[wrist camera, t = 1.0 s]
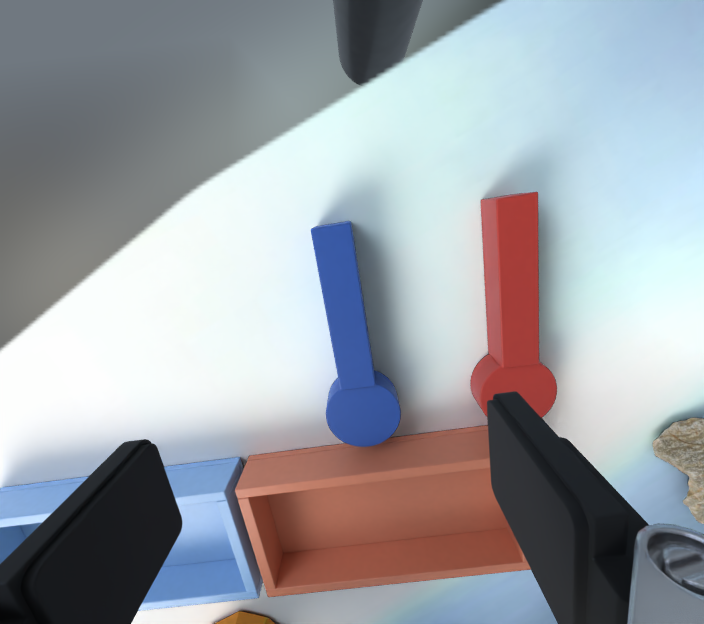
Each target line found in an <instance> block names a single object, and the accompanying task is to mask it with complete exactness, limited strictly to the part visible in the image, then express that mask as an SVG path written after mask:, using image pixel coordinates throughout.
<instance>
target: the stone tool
mask: <svg viewBox="0 0 704 624" xmlns="http://www.w3.org/2000/svg"><path fill="white" fill-rule="evenodd" d="M653 450H654V453H655V455H656V457H658V458H660V459H662V460H664V461H666V462H668V463H670V464H671V465H673V466H674V467H677V469H678V470H680V471H682V472H683V473H685V474H687V475H688V476H689V481H688V485H689V491H688V493H687V497H686V498H685V499H684V500H683V503H684V504H685V505H687V506H688V507H689V508H690V511H691V513H692V514H693V515H694V517H695V519H696V520H697V521H698V522H700V523H702V524H704V419H701V418H690V419H687V420H684V421H677V422H674V423H673V424H672V425H671V426H670V427H669V428H668V429H666V430H664V432H663V433H662V434H661V435H660V436H659V437H658V438H657V439H655V440H654V441H653Z"/></svg>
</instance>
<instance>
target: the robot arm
mask: <svg viewBox="0 0 704 624" xmlns="http://www.w3.org/2000/svg"><path fill="white" fill-rule="evenodd" d="M487 417H488V435H489V454H490V473H491V485H492V489H493V493H494V495H495V498H496V500H497V502H498V504H499V506H500V508H501V510H502V512H503V514H504V516H505V518H506V520H507V522H508V524H509V526H510V528H511V530H512V532H513V534H514V536H515V538H516V540H517V542H518V544H519V546H520V548H521V550H522V552H523V554H524V556H525V558H526V560H527V562H528V564H529V566H530V568H531V570H532V572H533V574H534V576H535V578H536V580H537V582H538V584H539V586H540V588H541V590H542V592H543V594H544V596H545V598H546V600H547V602H548V604H549V606H550V608H551V610H552V612H553V614H554V616H555V618H556V621H557V623H558V624H704V534H701V533H699V532H697V531H694V530H692V529H688V528H685V527H681V526H677V525H671V524H654V525H648V523H647V522H646V521H645V520H644V519H643V518H642V517H641V516H640V515H639V514H638V513H637V512H636V511H635V510H634V509H633V508H632V507H631V506H630V504H629V503H628V502H627V501H626V500H625V499H624V498H623V497H622V496H621V495H620V494H619V493H618V492H617V491H616V490H615V489H614V488H613V487H612V485H611V484H610V483H609V482H608V481H607V480H606V479H605V478H604V477H603V476H602V475H601V474H600V473H599V472H598V471H597V470H596V469H595V468H594V466H593V465H592V464H591V463H590V462H589V461H588V460H587V459H586V458H585V457H584V456H583V455H582V454H581V453H580V452H579V451H578V450H577V449H576V447H575V446H574V445H573V444H572V443H571V442H570V441H568V440H567V439H565V438H562V437H561V438H559V437H558V436H557V435H556V433H555V432H554V431H553V430H552V429H551V428H550V427H549V426H548V425H547V424H546V423H545V421H544V420H543V419H542V418H541V417H540V416H539V415H538V414H537V413H536V412H535V411H534V409H533V408H532V407H531V406H530V405H529V404H528V403H527V402H526V401H525V400H524V399H523V397H522V396H521V395H520V394H519V393H518V392H516V391H513V392H506V393H498V394H494V396H493V400H488V401H487ZM181 529H182V517H181V514H180V511H179V508H178V505H177V503H176V500H175V497H174V494H173V491H172V488H171V486H170V483H169V480H168V477H167V474H166V471H165V468H164V466H163V463H162V460H161V457H160V454H159V451H158V449H157V447H156V445H155V444H152V443H151V442H150V441H149V440H146V439H144V440H137V441H129V442H124V443H123V444H122V445H120V446H119V447H118V448H117V449H116V450H115V451H114V452H113V453H112V454H111V455H110V456H109V457H108V458H107V459H106V460H105V461H104V462H103V463H102V464H101V465H100V466H99V467H98V468H97V469H96V470H95V471H94V472H93V473H92V474H91V475H90V476H89V477H88V478H87V479H86V480H85V481H84V482H83V483H82V484H81V485H80V486H79V487H78V488H77V489H76V490H75V491H74V492H73V493H72V494H71V495H70V496H69V497H68V498H67V499H66V500H65V501H64V502H63V503H62V504H61V505H60V506H59V507H58V508H57V509H56V510H55V511H54V512H53V513H52V514H51V515H50V516H49V517H48V518H47V519H45V520H44V521H43V522H42V523H41V524H40V525H39V526H38V527H37V528H36V529H35V530H34V531H33V532H32V533H31V534H30V535H29V536H28V537H27V538H26V539H25V540H24V541H23V542H22V543H21V544H20V545H19V546H18V547H17V548H16V549H15V550H14V551H13V552H12V553H11V554H10V555H9V556H8V557H7V558H6V559H5V560H4V561H3V562H2V563H1V564H0V624H131V622H132V621H133V619H134V617H135V615H136V613H137V611H138V610H139V608H140V606H141V604H142V602H143V600H144V599H145V597H146V595H147V593H148V591H149V589H150V588H151V586H152V584H153V582H154V580H155V579H156V577H157V575H158V573H159V571H160V569H161V568H162V566H163V564H164V562H165V560H166V558H167V557H168V555H169V553H170V551H171V549H172V547H173V546H174V544H175V542H176V540H177V538H178V536H179V535H180V532H181Z"/></svg>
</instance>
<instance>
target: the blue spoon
mask: <svg viewBox="0 0 704 624" xmlns="http://www.w3.org/2000/svg"><path fill="white" fill-rule="evenodd" d="M311 234H312V240H313V245H314V250H315V256H316V261H317V266H318V272H319V277H320V282H321V288H322V293H323V299H324V304H325V309H326V315H327V320H328V325H329V331H330V336H331V341H332V347H333V352H334V357H335V363H336V368H337V373H338V378H337V379H336V380H335V381H334V383H333V384H332V386H331V388H330V391H329V395H328V402H327V408H326V419H327V423H328V426H329V428H330V430H331V431H332V432H333V434H334V435H335V436H336V437H337V438H338V439H340V440H341V441H343V442H345V443H347V444H349V445H353V446H358V447H369V446H374V445H377V444H380V443H382V442H384V441H385V440H387V439H388V438H389V437H390V436H391V435H392V434H393V433H394V432H395V430H396V429H397V427H398V425H399V422H400V416H401V411H400V406H399V401H398V397H397V392H396V389H395V387H394V385H393V383H392V382H391V381H390V380H389V379H388V378H387V377H386V376H385V375H383V374H382V373H380V372H378V371H375V370H374V367H373V360H372V354H371V347H370V341H369V334H368V328H367V321H366V315H365V308H364V301H363V295H362V288H361V282H360V275H359V269H358V262H357V256H356V249H355V243H354V236H353V230H352V223H351V221H346V222H340V223H334V224H328V225H322V226H316V227H314V228H312V229H311Z"/></svg>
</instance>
